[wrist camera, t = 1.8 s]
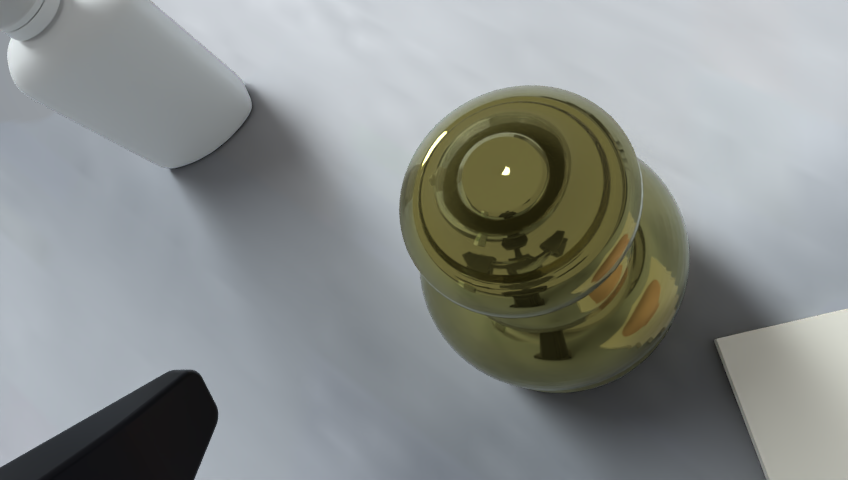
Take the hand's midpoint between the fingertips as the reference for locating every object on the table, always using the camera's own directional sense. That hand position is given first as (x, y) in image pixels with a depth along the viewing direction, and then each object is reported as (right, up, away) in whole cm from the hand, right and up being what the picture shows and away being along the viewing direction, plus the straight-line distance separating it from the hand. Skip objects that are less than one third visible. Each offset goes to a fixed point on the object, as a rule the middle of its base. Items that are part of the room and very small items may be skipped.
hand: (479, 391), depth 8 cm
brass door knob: (+4, 0, +12) cm, 13 cm away
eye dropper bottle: (-11, +8, +20) cm, 24 cm away
